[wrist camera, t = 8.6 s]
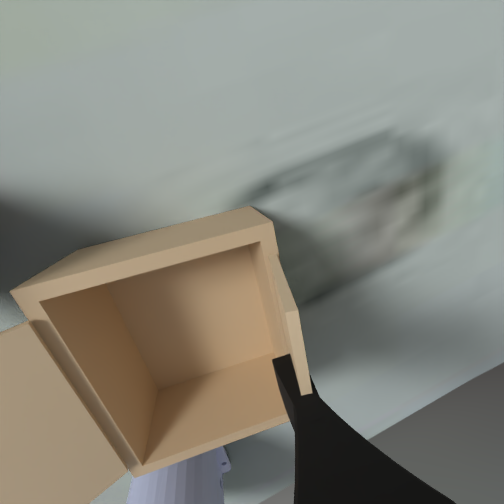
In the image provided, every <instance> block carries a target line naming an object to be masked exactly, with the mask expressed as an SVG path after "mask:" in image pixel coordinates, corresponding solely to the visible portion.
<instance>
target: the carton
mask: <svg viewBox="0 0 504 504" xmlns="http://www.w3.org/2000/svg"><path fill="white" fill-rule="evenodd" d="M272 254H277V257H278V260H279V262H280V257H279V252H278V247H277V241H276V236H275V231H274V226H273V221H271V220H270V219H268V218H267V217H265V216H264V215H262V214H261V213H259V212H258V211H257V210H255V209H254V208H252V207H251V206H247V207H243V208H239V209H235V210H231V211H228V212H224V213H220V214H216V215H212V216H208V217H204V218H200V219H196V220H192V221H188V222H184V223H180V224H176V225H172V226H168V227H165V228H161V229H157V230H153V231H149V232H145V233H141V234H137V235H133V236H129V237H125V238H121V239H117V240H113V241H109V242H105V243H101V244H98V245H94V246H90V247H86V248H82V249H78V250H76V251H75V252H73V253H71V254H70V255H68V256H66V257H65V258H63V259H61V260H60V261H58V262H57V263H55V264H53V265H52V266H50V267H48V268H47V269H45V270H43V271H42V272H40V273H38V274H37V275H35V276H34V277H32V278H30V279H29V280H27V281H25V282H24V283H22V284H20V285H19V286H17V287H16V288H14V289H12V290H11V291H9V292H10V293H11V295H12V296H13V298H14V299H15V301H16V302H17V304H18V305H19V307H20V308H21V310H22V311H23V313H24V314H25V316H26V317H27V319H28V320H30V322H31V323H32V325H33V326H34V328H35V329H36V331H37V332H38V333H39V335H40V336H41V338H42V339H43V341H44V342H45V344H46V345H47V347H48V348H49V350H50V351H51V353H52V354H53V356H54V357H55V359H56V360H57V362H58V363H59V365H60V366H61V368H62V369H63V371H64V372H65V374H66V375H67V377H68V378H69V380H70V381H71V383H72V384H73V386H74V387H75V389H76V390H77V392H78V393H79V395H80V396H81V398H82V399H83V401H84V402H85V404H86V405H87V407H88V408H89V410H90V411H91V413H92V414H93V416H94V417H95V419H96V420H97V422H98V423H99V425H100V426H101V428H102V429H103V431H104V432H105V434H106V435H107V437H108V438H109V440H110V441H111V443H112V444H113V446H114V447H115V448H116V450H117V451H118V453H119V454H120V456H121V457H122V459H123V460H124V462H125V463H126V465H127V468H128V469H129V471H130V472H131V474H132V475H133V477H134V478H137V477H139V476H142V475H145V474H147V473H150V472H153V471H156V470H158V469H161V468H164V467H166V466H169V465H172V464H175V463H177V462H180V461H183V460H185V459H188V458H191V457H193V456H196V455H199V454H202V453H204V452H207V451H210V450H212V449H215V448H218V447H221V446H223V445H226V444H229V443H231V442H234V441H237V440H240V439H242V438H245V437H248V436H250V435H253V434H256V433H258V432H261V431H264V430H267V429H269V428H272V427H275V426H277V425H280V424H283V423H286V422H288V421H290V419H289V417H288V415H287V412H286V409H285V406H284V403H283V400H282V397H281V394H280V391H279V387H278V383H277V379H276V375H275V371H274V367H273V363H272V359H275V358H277V357H280V356H283V355H284V356H285V355H286V354H289V353H288V348H287V344H286V339H285V334H284V329H283V324H282V319H281V315H280V310H279V305H278V300H277V295H276V290H275V286H274V281H273V276H272V271H271V266H270V261H269V257H268V255H272ZM280 265H281V263H280Z"/></svg>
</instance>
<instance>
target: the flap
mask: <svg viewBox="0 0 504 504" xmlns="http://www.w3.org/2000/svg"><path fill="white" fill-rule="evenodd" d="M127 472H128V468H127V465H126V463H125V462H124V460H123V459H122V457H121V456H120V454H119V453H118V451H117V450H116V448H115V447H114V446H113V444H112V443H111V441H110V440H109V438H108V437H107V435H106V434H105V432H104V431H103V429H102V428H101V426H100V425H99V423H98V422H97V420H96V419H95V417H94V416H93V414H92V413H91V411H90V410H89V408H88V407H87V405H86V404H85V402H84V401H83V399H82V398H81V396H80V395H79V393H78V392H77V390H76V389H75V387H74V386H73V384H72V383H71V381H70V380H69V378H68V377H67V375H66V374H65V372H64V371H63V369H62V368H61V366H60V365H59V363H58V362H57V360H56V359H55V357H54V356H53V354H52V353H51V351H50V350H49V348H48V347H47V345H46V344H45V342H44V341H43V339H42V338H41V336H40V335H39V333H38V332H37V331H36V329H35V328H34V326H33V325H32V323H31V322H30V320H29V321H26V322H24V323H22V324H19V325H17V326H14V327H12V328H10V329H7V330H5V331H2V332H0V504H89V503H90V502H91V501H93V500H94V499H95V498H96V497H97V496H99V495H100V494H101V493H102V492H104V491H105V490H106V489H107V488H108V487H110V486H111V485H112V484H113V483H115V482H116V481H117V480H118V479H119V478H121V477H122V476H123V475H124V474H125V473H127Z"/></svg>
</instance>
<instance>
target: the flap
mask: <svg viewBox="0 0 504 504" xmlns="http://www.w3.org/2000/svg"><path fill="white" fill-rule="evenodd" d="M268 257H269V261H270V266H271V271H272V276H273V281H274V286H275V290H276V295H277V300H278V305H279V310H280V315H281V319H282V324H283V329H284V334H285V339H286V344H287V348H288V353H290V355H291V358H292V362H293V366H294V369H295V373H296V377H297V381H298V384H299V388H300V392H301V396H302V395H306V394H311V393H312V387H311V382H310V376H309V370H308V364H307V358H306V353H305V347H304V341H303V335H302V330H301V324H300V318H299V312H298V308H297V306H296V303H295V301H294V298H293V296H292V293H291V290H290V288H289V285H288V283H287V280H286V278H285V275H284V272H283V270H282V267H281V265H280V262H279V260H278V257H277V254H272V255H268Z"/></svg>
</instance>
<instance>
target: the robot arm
mask: <svg viewBox="0 0 504 504" xmlns="http://www.w3.org/2000/svg"><path fill="white" fill-rule="evenodd" d="M272 363H273V367H274V371H275V375H276V379H277V383H278V387H279V391H280V394H281V397H282V400H283V403H284V406H285V409H286V412H287V415H288V417H289V419H290V422H291V424H292V427H293V429H294V431H295V490H294V504H456V503H455V502H454V501H452V500H451V499H449V498H448V497H446V496H445V495H443V494H441V493H440V492H438V491H437V490H435V489H434V488H432V487H430V486H429V485H428V484H426V483H425V482H423V481H422V480H420V479H419V478H417V477H416V476H414V475H413V474H412V473H410V472H409V471H407V470H406V469H404V468H403V467H401V466H400V465H399V464H397V463H396V462H395V461H393V460H392V459H391V458H389V457H388V456H387V455H385V454H384V453H383V452H381V451H380V450H379V449H378V448H376V447H375V446H374V445H372V444H371V443H370V442H368V441H367V440H366V439H365V438H364V437H362V436H361V435H360V434H359V433H358V432H356V431H355V430H354V429H353V428H352V427H351V426H349V425H348V424H347V423H346V422H345V421H344V420H343V419H341V418H340V417H339V416H338V415H337V414H336V413H335V412H334V411H333V410H332V409H331V408H330V407H329V406H328V405H327V404H326V403H325V402H324V401H323V400H322V399H321V398H320V397H319V395H318V392H317V390H316V388H315V385H314V383H313V381H312V378H311V376H310V374H309V376H310V382H311V387H312V393H311V394H306V395H302V396H301V392H300V388H299V384H298V381H297V377H296V373H295V369H294V366H293V362H292V358H291V355H290V353H289V354H286V355H285V356H284V355H283V356H280V357H277V358H275V359H272ZM230 470H231V463H230V461H229V458H228V456H227V453H226V451H225V449H224V446H221V447H218V448H215V449H212V450H210V451H207V452H204V453H202V454H199V455H196V456H193V457H191V458H188V459H185V460H183V461H180V462H177V463H175V464H172V465H169V466H166V467H164V468H161V469H158V470H156V471H153V472H150V473H147V474H145V475H142V476H139V477H137V478H134V477H132V481H131V485H130V490H129V494H128V498H127V503H126V504H224V492H223V477H222V474H224V473H226V472H228V471H230Z"/></svg>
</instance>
